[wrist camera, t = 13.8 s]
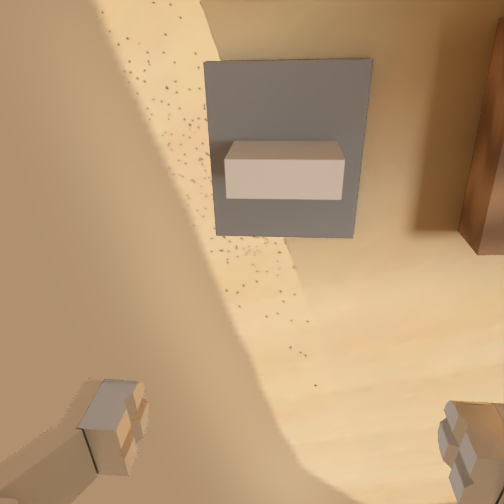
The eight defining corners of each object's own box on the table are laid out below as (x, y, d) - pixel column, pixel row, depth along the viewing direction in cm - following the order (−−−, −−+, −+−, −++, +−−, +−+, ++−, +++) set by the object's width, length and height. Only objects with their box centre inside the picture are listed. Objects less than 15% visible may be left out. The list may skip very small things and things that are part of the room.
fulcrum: (370, 58, 29) (388, 65, 23) (351, 232, 36) (361, 269, 30) (206, 61, 30) (186, 68, 24) (218, 229, 37) (204, 265, 31)
